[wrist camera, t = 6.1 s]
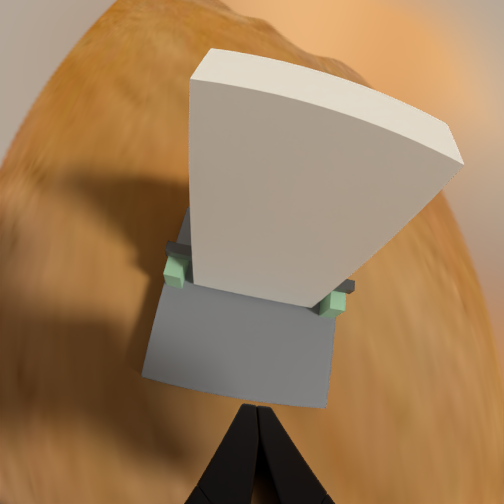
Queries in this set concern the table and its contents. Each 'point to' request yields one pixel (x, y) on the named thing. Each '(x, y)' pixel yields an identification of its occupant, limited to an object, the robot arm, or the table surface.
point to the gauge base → (240, 340)
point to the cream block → (300, 176)
